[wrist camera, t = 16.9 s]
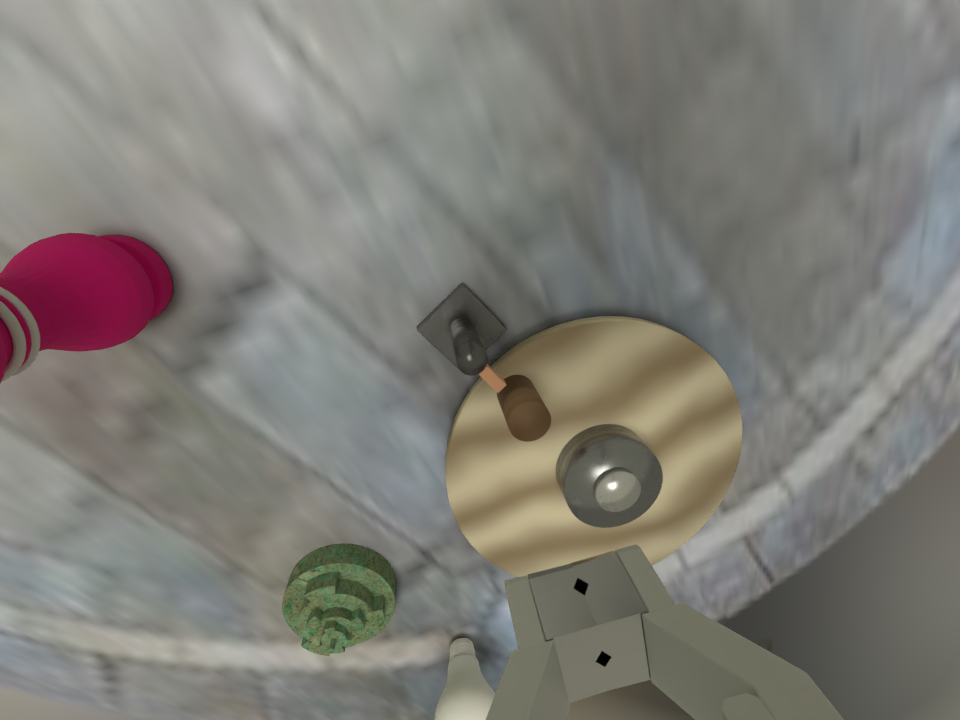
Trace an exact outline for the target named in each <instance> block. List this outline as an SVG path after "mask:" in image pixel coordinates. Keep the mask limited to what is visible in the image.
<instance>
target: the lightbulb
mask: <svg viewBox="0 0 960 720" xmlns="http://www.w3.org/2000/svg"><path fill="white" fill-rule="evenodd" d="M494 696H495V693H494V692H493V690H492V689H491V687H490V686H489V685H488V684H487V682H486V681H485V680H484V678H483V676H482V673H481V670H480V666H479V662H478V660H477V658H476V655H475V649H474V645H473V642H472V641H471V640H469V639H467V638H458V639H456V640H454V641H453V642H452V644H451V645H450V662H449V665H448V678H447V683H446V686H445V689H444V691H443V693H442V695H441V697H440V700H439V702H438V705H437V708H436V713H435V720H486V717H487V714H488V712H489V709H490V707H491V704H492V701H493V699H494Z"/></svg>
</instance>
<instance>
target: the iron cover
mask: <svg viewBox="0 0 960 720" xmlns="http://www.w3.org/2000/svg"><path fill="white" fill-rule="evenodd" d="M555 471H556V480H557V483H558V485H559V487H560V490H561V492H562V494H563V496H564V498H565V500H566V502H567V504H568V507H569V508H570V510H571V512H572V513H573V514H574V516H575V517H576V518H578V519H579V520H580V521H582V522H583V523H585V524H587V525H590V526H594V527H600V528H611V527H617V526H621V525H624V524H627V523H629V522H631V521H633V520H635V519H637V518H638V517H640V516H641V515H642V514H644V513H645V512H646V511H647V510H648V509H649V508H650V507H651V506H652V505H653V503H654V502H655V500H656V499H657V497H658V495H659V493H660V490H661V487H662V482H663V473H662V468H661V465H660V463H659V461H658V459H657V458H656V456H655V455H654V454H653V453H652V452H651V450H650V449H649V448H648V447H647V446H646V445H645V444H644V442H643V441H642V440H641V439H640V438H639V437H638V436H637V435H636V434H635V433H634V432H633V431H632V430H630V429H628V428H626V427H623V426H620V425H615V424H602V425H597V426H593V427H590V428H587V429H585V430H583V431H581V432H580V433H578V434H577V435H575V436H574V437H573V438H572V439H570V440H569V442H568V443H567V444H566V445H565V446H564V448H563V449H562V451H561V452H560V454H559V457H558V459H557V463H556V470H555Z"/></svg>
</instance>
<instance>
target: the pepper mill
mask: <svg viewBox="0 0 960 720" xmlns="http://www.w3.org/2000/svg"><path fill="white" fill-rule="evenodd" d="M171 296H172V279H171V275H170V272H169V270H168V268H167V266H166V264H165V263H164V261H163V260H162V259H161V257H160V256H159V255H158V254H157V253H156V252H155V251H154V250H153V249H151V248H150V247H149V246H147V245H146V244H144V243H142V242H141V241H139V240H136V239H134V238H131V237H128V236H123V235H104V236H98V237H97V236H94V235H88V234H81V233H66V234H59V235H56V236H52V237H49V238H45V239H42V240H39V241H37V242H35V243H33V244H31V245H29V246H28V247H26V248H25V249H24V250H22V251H21V252H20V253H18V254H17V255H15V256H14V257H13V258H12V259H11V261H10V262H9V263H8V264H7V266H6V267H5V268H4V270H3V271H2V272H1V273H0V383H1V382H2V381H4V380H6V379H8V378H10V377H11V376H14V375H16V374H19V373H21V372H22V371H24V370H25V369H27V368H28V367H29V366H30V365H31V364H32V363H33V361H34V360H35V358H36V356H37V355H38V352H39V351H41V350H44V349H55V350H65V351H90V350H101V349H105V348H109V347H113V346H116V345H118V344H121V343H123V342H126V341H128V340H130V339H132V338H133V337H134V336H136V335H137V334H138V333H139V332H140V331H141V330H143V328H144V327H145V326H146V324H147V323H148V321H149V320H151V319H153V318H155V317H156V316H158V315H159V314H160V313H162V312H163V311H164V309H165V308H166V307H167V306H168V304H169V302H170V299H171Z"/></svg>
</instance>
